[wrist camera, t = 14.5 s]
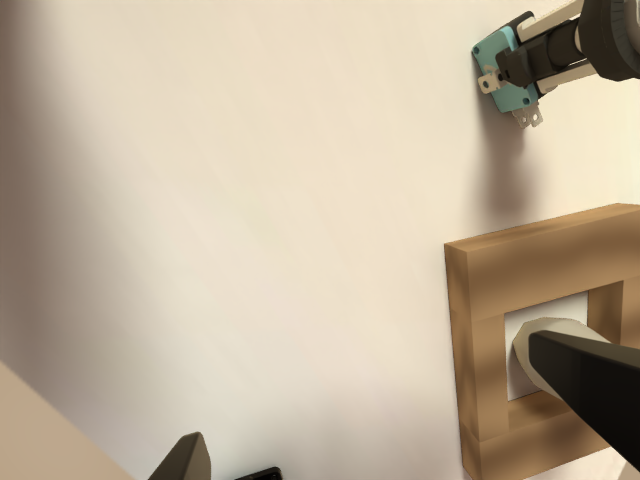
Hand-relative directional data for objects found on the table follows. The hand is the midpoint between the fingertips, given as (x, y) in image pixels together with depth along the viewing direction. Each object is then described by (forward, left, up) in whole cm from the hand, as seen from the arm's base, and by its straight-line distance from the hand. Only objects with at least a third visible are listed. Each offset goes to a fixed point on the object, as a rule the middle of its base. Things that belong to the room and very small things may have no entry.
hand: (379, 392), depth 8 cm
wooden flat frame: (-11, -17, -13) cm, 24 cm away
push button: (+9, -15, -13) cm, 22 cm away
